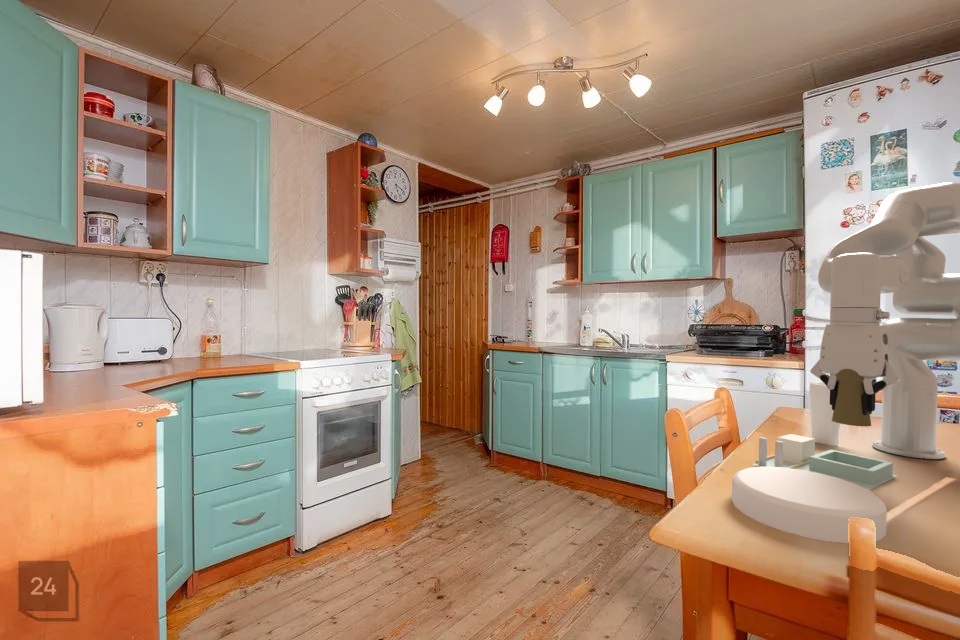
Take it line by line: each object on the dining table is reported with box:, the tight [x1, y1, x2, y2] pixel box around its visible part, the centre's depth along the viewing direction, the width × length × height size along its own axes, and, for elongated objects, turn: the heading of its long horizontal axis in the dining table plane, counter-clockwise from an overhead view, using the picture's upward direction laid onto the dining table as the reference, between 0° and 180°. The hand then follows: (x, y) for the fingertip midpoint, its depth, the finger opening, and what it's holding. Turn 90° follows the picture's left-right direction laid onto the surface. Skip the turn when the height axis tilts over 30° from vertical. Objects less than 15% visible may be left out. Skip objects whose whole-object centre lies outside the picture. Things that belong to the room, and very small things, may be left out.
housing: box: [776, 433, 816, 464], centre depth 98 cm, size 6×5×4 cm
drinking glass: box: [808, 381, 841, 447], centre depth 114 cm, size 7×7×15 cm
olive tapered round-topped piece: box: [832, 369, 872, 427], centre depth 89 cm, size 6×6×11 cm
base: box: [751, 436, 898, 491], centre depth 91 cm, size 18×18×7 cm
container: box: [731, 466, 888, 544], centre depth 73 cm, size 20×20×5 cm
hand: (851, 410), depth 89 cm, fingers closed on olive tapered round-topped piece, 4 cm apart
